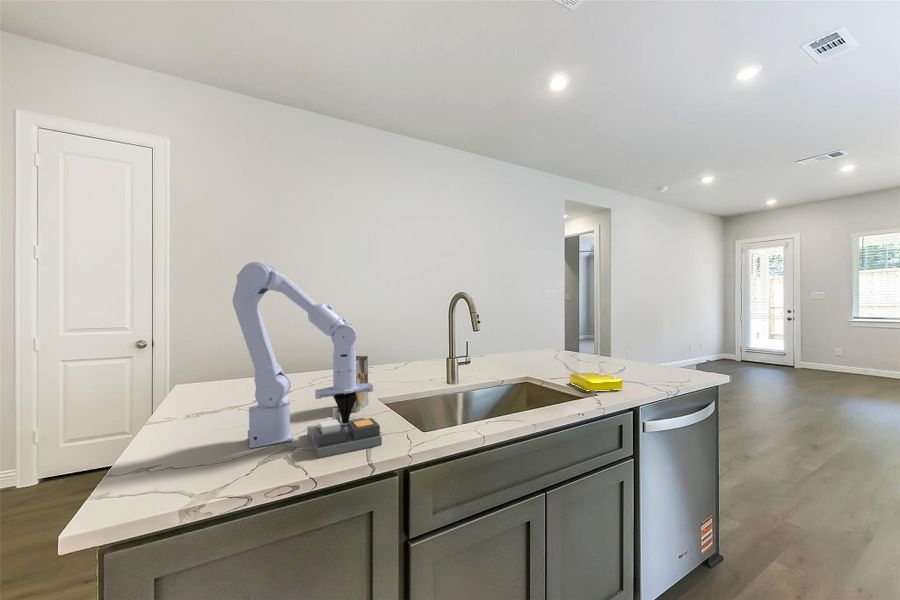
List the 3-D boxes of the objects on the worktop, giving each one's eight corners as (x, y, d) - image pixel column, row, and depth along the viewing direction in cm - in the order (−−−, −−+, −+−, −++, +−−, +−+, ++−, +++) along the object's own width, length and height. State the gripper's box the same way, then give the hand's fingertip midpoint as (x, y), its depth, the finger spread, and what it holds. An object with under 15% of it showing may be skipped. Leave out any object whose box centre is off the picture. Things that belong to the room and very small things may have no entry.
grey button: (322, 435, 85) (322, 427, 85) (319, 430, 88) (319, 422, 88) (340, 432, 86) (340, 424, 86) (336, 427, 90) (336, 419, 90)
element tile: (568, 384, 151) (568, 372, 151) (601, 382, 153) (601, 370, 153) (588, 393, 136) (588, 380, 136) (625, 391, 139) (625, 378, 139)
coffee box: (350, 403, 124) (350, 355, 124) (368, 404, 123) (368, 355, 123) (337, 411, 115) (336, 360, 115) (356, 412, 114) (355, 360, 114)
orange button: (357, 435, 88) (357, 426, 88) (353, 429, 92) (353, 421, 92) (373, 432, 90) (373, 423, 90) (369, 427, 94) (368, 419, 94)
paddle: (335, 428, 94) (335, 412, 94) (332, 423, 97) (332, 408, 97) (340, 427, 94) (340, 411, 94) (337, 422, 98) (336, 407, 98)
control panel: (318, 458, 82) (318, 437, 82) (307, 434, 96) (307, 417, 96) (381, 444, 89) (381, 426, 89) (363, 424, 103) (362, 408, 103)
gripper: (318, 376, 90) (318, 432, 90) (376, 370, 97) (376, 422, 97) (313, 371, 96) (313, 423, 96) (368, 365, 103) (368, 414, 103)
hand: (345, 422), depth 97 cm, fingers closed
